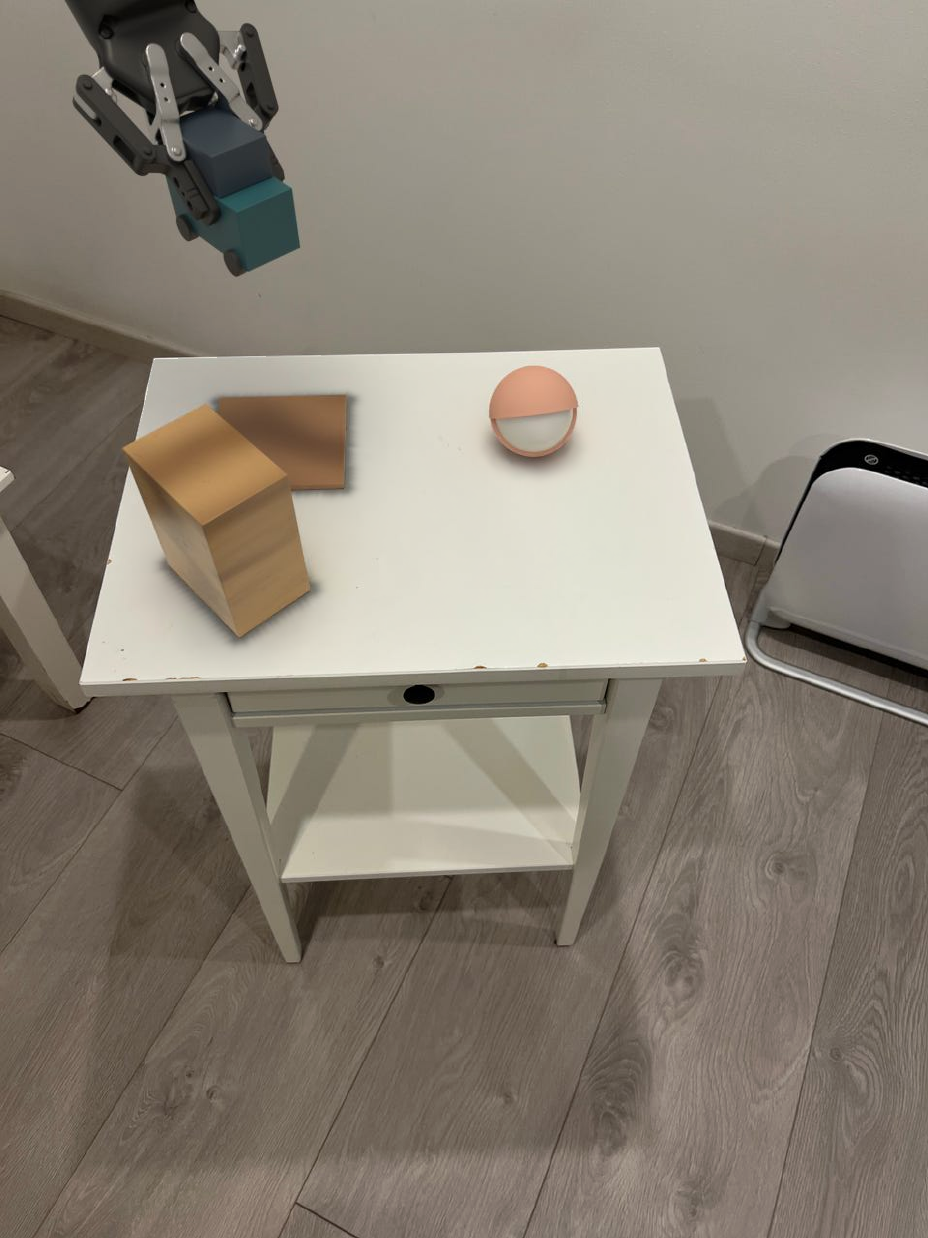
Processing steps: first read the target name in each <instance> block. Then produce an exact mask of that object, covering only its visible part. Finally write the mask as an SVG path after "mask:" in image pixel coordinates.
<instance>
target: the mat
mask: <svg viewBox="0 0 928 1238" xmlns="http://www.w3.org/2000/svg"><path fill="white" fill-rule="evenodd" d="M347 403H348V397H347V394H312V395H311V394H310V395H309V394H307V395H270V396H269V395H264V396H263V395H261V396H224V397H222V396H221V397H220V398H219V404H218V410H217V414H218V415H219V416H220V417H222V418H223V419H224V420H225V421H226V422H227V423H229V424H230V425H231V426H232V427H233V428H234V429H235V430H237V431H238V432H239V433H240V434H241V435H242V436H244V437H245V438H246V439H247V440H248V441H249V442H250V443H252V444H253V445H254V446H255V447H256V448H257V449H259V450H260V451H261V452H262V453H263V454H264V455H265V456H267V457H268V458H269V459H270V460H271V461H272V462H274V463H275V464H276V465H277V466H278V467H279V468H281V469H282V470H283V471H284V472H285V473H286V474H287V475H288V479H289V484H290V489H291V491H297V490H298V491H299V490H300V491H301V490H335V489H345V474H346V442H347V441H346V440H347V439H346V438H347V408H348V407H347V406H348V404H347Z"/></svg>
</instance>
